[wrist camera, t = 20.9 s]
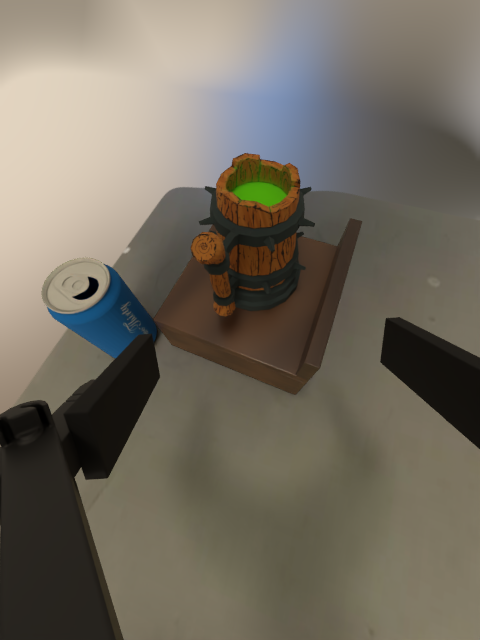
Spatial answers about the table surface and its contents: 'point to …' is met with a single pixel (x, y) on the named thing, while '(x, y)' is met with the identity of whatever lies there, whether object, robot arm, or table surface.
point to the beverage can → (96, 305)
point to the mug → (253, 235)
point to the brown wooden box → (264, 318)
